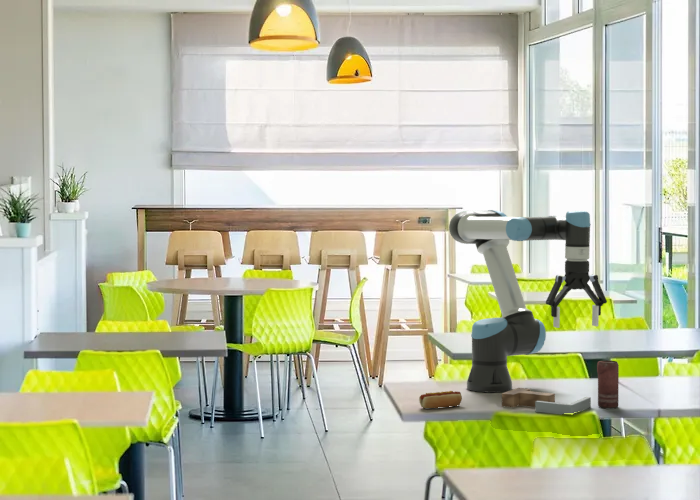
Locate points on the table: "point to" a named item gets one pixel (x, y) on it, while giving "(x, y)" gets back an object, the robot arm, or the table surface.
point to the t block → (525, 397)
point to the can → (608, 383)
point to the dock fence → (563, 406)
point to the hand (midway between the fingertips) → (575, 326)
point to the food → (440, 399)
